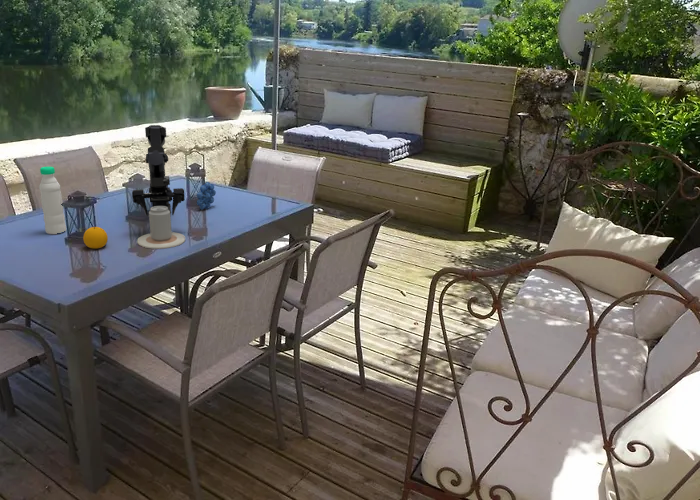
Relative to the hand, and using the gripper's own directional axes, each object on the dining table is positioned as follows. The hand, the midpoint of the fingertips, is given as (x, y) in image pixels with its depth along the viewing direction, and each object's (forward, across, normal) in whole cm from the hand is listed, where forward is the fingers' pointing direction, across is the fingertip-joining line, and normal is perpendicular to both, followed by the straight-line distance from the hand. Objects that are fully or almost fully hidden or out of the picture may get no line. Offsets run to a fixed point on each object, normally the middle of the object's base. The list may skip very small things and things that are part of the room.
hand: (160, 215), depth 214 cm
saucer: (+9, 0, +3) cm, 10 cm away
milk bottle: (-3, -38, +16) cm, 41 cm away
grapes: (-19, +19, +32) cm, 42 cm away
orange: (+11, -22, +1) cm, 25 cm away
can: (+9, 0, +2) cm, 9 cm away
